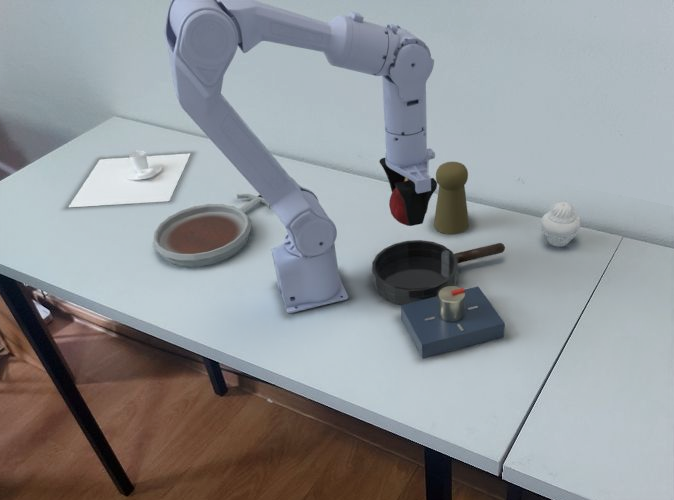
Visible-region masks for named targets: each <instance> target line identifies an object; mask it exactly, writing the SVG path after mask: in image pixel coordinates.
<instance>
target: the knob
mask: <svg viewBox="0 0 674 500" xmlns="http://www.w3.org/2000/svg"><path fill="white" fill-rule="evenodd" d="M438 305H439V317H440V318H441V319H443V320H444V321H448V322H455V321H459V320H461V319H462V318H463V317H464V314H465V288H464V287H460V286H457V285H456V286H447V287H444V288H442V289H441V290H440V291H439V294H438Z"/></svg>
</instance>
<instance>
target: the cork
mask: <svg viewBox="0 0 674 500" xmlns="http://www.w3.org/2000/svg"><path fill="white" fill-rule="evenodd" d="M468 179H469V172H468V168H467V167H466V166H465V164H463V163H462V162H458V161H447V162H443V163H442V164H440V165H439V166H438V168H437V169H436V172H435V181H436V182H437V186H438V192H437V199H436V205H435V212H434V220H433V227H434V229H435V230H436V231H437V232H439V233H442V234H445V235H457V234H461V233H463V232H465V231H466V230H468V229H469V226H470V220H469V213H468V204H467V196H466V195H467V194H466V184H467V182H468Z"/></svg>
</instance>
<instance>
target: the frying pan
mask: <svg viewBox="0 0 674 500" xmlns="http://www.w3.org/2000/svg"><path fill="white" fill-rule="evenodd" d="M236 198H237V200H238V199H250V200H249V201H247V202H246V203H244V204H243V205H242V206H240V207H239V208H238V207H236V206H234V205H229V204H223V203H206V204H199V205H193V206H191V207H188V208H184V209H182V210H181V209H180V210H179V211H177V212H175V213H173V214H171V215H169V216H168V217H167V218H165V219H164V220H163V221H161V222H160V223H159V224H158V226H157V228H156V229H155V231H154V233H153V238H152V245H153V247H154V249H155V251H156V252H157V253H159V254H160V255H161V257H162V258H163V259H164V260H166V261H167V262H169V263H170V264H173V265H176V266H181V267H185V268H186V267H187V268H188V267H191V268H192V267H193V268H194V267H197V268H198V267H204V266H210V265H211V266H212V265H214V264H217V263H220V262H222V261H225V260H228V259H230V258H231V257H233V256H234V255H236V254H238V253H239V252H240V251H241V250H242V249H243V248H244V247H245V246H246V245H247V242H248V240H249V237H250V232H251V229H252V223H251V219H250V218H249V217H248V215H247V214H246V213H245V212H246V211H248V210H249V209H251V208H252V207H254V206H255V205H256V204H258V203H259V202H260V203H263V204H266V206H267V208H268V209H269V210H271V209H272V208H271V206H270V205H269V204H268V203H267V202H266V201H265V200H264V199H263V197H262V196H261V195H260V194H259V195H255V194H251V193H237V194H236Z"/></svg>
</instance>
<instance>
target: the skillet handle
mask: <svg viewBox="0 0 674 500" xmlns="http://www.w3.org/2000/svg"><path fill="white" fill-rule="evenodd" d="M505 250H506V246H505V244H504V243H503V242H498V243H493V244H488V245H484V246H480V247H477V248H472V249H467V250H464V251H459V252H456V253H454V255H455V256H456V258H457V262H458V264H462V263H466V262H469V261H474V260H478V259H483V258H487V257H489V256H495V255H499V254H503V253H504V252H505Z"/></svg>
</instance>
